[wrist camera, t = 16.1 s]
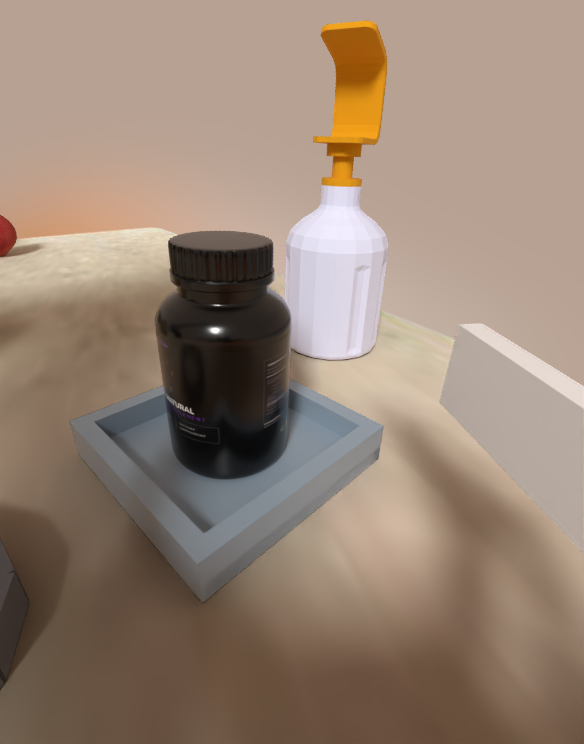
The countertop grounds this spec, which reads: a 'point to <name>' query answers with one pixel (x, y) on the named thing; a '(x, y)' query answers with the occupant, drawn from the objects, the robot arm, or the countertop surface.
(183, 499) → the tray
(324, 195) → the soap bottle
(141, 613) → the countertop surface
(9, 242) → the pomegranate
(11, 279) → the countertop surface
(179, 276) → the supplement bottle
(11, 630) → the holster ring
